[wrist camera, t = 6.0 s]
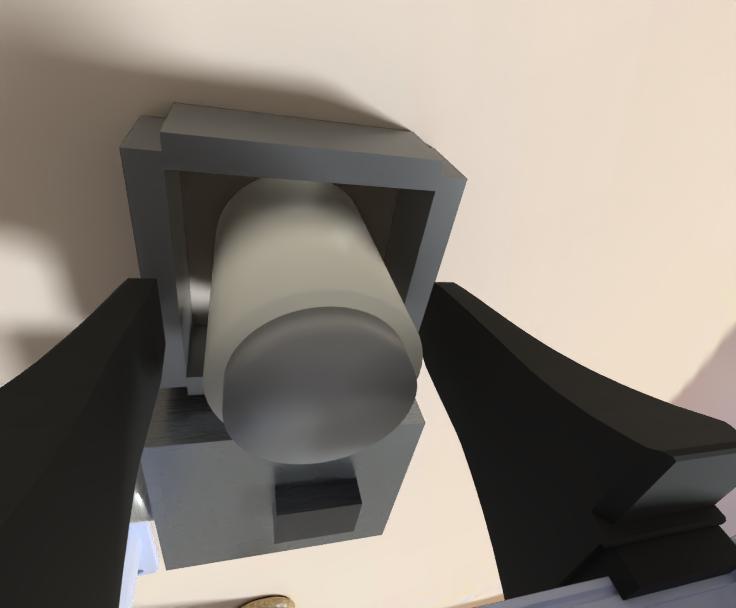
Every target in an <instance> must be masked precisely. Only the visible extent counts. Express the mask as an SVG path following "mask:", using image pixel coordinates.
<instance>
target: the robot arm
mask: <svg viewBox="0 0 736 608" xmlns="http://www.w3.org/2000/svg"><path fill="white" fill-rule="evenodd" d="M418 334H419V336H420V340H421V344H422V352H423V359H424V362H425V365H426V368H427V370H428V372H429V375H430V377H431V379H432V381H433V383H434V386H435V388H436V390H437V392H438V394H439V396H440V399H441V401H442V403H443V405H444V407H445V409H446V411H447V414H448V416H449V418H450V420H451V422H452V424H453V426H454V428H455V431H456V433H457V435H458V438H459V440H460V443H461V445H462V448H463V451H464V454H465V457H466V460H467V463H468V466H469V469H470V472H471V474H472V478H473V481H474V484H475V487H476V491H477V494H478V497H479V500H480V504H481V507H482V510H483V514H484V518H485V521H486V525H487V529H488V532H489V536H490V540H491V543H492V547H493V551H494V555H495V560H496V564H497V568H498V572H499V577H500V581H501V585H502V589H503V594H504V599H505V600H504V601H500V602H496V603H491V604H487V605H482V606H479V607H474V608H736V535H735V536H732V537H731V538H729V536H728V535H727V534H726V533H725V532H724V531H723V530H722V528H721V527H720V526H719V525H721V524H723V523H724V522H725V521H726V518H725V516H724V515H723V514H722V513H721V511H720V510H719V509H718V508H717V507H716V506H715V504H716V503H717V502H718V501H719V500H721V499H722V498H723V497H724V496H725V495H726V494H728V493H729V492H730V491H732V490H733V489H734V488H735V487H736V430H735V429H734V428H733V427H732V426H730V425H729V424H727V423H726V422H724V421H721V420H718V419H715V418H712V417H709V416H706V415H703V414H700V413H697V412H693V411H691V410H687V409H684V408H681V407H678V406H675V405H673V404H670V403H667V402H665V401H662V400H659V399H657V398H654V397H652V396H649V395H646V394H644V393H641V392H639V391H636V390H634V389H632V388H629V387H627V386H625V385H622V384H620V383H618V382H616V381H613V380H611V379H609V378H607V377H605V376H603V375H601V374H598V373H596V372H594V371H592V370H590V369H588V368H586V367H584V366H582V365H580V364H579V363H577V362H575V361H573V360H571V359H569V358H568V357H566V356H564V355H562V354H560V353H559V352H557V351H555V350H553V349H552V348H550V347H548V346H547V345H545V344H544V343H542V342H540V341H539V340H537V339H536V338H534V337H533V336H531V335H529V334H528V333H526V332H525V331H523V330H522V329H520V328H519V327H517V326H516V325H515V324H513V323H512V322H510V321H509V320H507V319H506V318H505V317H503V316H502V315H500V314H499V313H497V312H496V311H495V310H493V309H492V308H491V307H489V306H488V305H486V304H485V303H484V302H482V301H481V300H479V299H478V298H477V297H475V296H474V295H472V294H471V293H469V292H468V291H467V290H465V289H464V288H462V287H460V286H459V285H457V284H455V283H454V282H434V284H433V288H432V291H431V294H430V297H429V300H428V304H427V307H426V310H425V313H424V316H423V320H422V323H421V326H420V329H419V332H418ZM165 346H166V341H165V334H164V327H163V320H162V313H161V305H160V298H159V291H158V284H157V279H145V278H128V279H127V280H126V281H125V282H123V283H122V284H121V285H120V286H119V287H118V288H117V289H116V290H115V291H114V292H113V293H112V294H111V295H110V296H109V297H108V298H107V299H106V300H105V301H104V302H103V303H102V304H101V305H100V306H99V307H98V308H97V309H96V310H95V311H94V312H93V313H92V314H91V315H90V316H89V317H88V318H87V319H85V320H84V321H83V322H82V323H81V324H80V325H79V326H78V327H77V328H76V329H75V330H74V331H72V332H71V333H70V334H69V335H68V336H67V337H66V338H65V339H63V340H62V341H61V342H60V343H59V344H57V345H56V346H55V347H54V348H53V349H51V350H50V351H49V352H48V353H47V354H45V355H44V356H43V357H42V358H41V359H39V360H38V361H37V362H36V363H34V364H33V365H32V366H30V367H29V368H28V369H26V370H25V371H24V372H22V373H21V374H20V375H18V376H17V377H15V378H14V379H13V380H11V381H10V382H8V383H7V384H5V385H4V386H2V387H1V388H0V608H132V603H133V597H134V591H135V585H136V579H137V576H139V575H145V574H150V573H154V572H156V571H157V570H158V568H159V558H158V554H157V550H156V546H155V542H154V538H153V534H152V530H151V526H150V522H149V521H146V522H138V523H131V524H130V518H131V511H132V504H133V498H134V491H135V484H136V478H137V474H138V469H139V464H140V460H141V456H142V452H143V449H144V445H145V441H146V437H147V433H148V430H149V426H150V422H151V418H152V414H153V411H154V407H155V403H156V399H157V395H158V391H159V387H160V383H161V379H162V371H163V363H164V355H165Z"/></svg>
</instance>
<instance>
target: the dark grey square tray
mask: <svg viewBox="0 0 736 608" xmlns="http://www.w3.org/2000/svg"><path fill="white" fill-rule="evenodd" d="M119 148H120V154H121V160H122V166H123V172H124V178H125V184H126V190H127V196H128V202H129V208H130V215H131V221H132V227H133V233H134V239H135V245H136V251H137V257H138V263H139V269H140V275H141V278H145V279H157V284H158V291H159V298H160V305H161V313H162V320H163V327H164V334H165V341H166V346H165V355H164V363H163V371H162V379H161V383H160V387H159V388H171V387H187V389H188V395H202V394H204V388H203V370H204V359H205V348H206V337H207V326H208V325H193V319H192V308H191V296H190V284H189V273H188V261H187V250H186V238H185V227H184V215H183V204H182V192H181V180H180V171H188V172H201V173H213V174H226V175H238V176H251V177H264V178H276V179H289V180H301V181H314V182H327V183H339V184H352V185H364V186H377V187H389V188H400V192H399V196H398V201H397V205H396V210H395V214H394V219H393V223H392V227H391V232H390V236H389V241H388V245H387V250H386V254H385V259H384V264H385V266H386V268H387V270H388V272H389V275H390V277H391V279H392V281H393V283H394V285H395V287H396V289H397V291H398V293H399V295H400V297H401V299H402V301H403V303H404V305H405V307H406V309H407V311H408V314H409V316H410V318H411V320H412V322H413V324H414V326H415V328H416V330H417V332H419V329H420V326H421V323H422V320H423V316H424V313H425V310H426V307H427V304H428V300H429V297H430V294H431V291H432V288H433V284H434V282H435V280H436V277H437V274H438V271H439V268H440V264H441V261H442V258H443V255H444V252H445V248H446V245H447V242H448V239H449V236H450V233H451V229H452V226H453V223H454V220H455V217H456V213H457V210H458V207H459V204H460V201H461V198H462V194H463V191H464V188H465V185H466V182H467V178H466V177H465V176H464V175H463V174H462V173H461V172H459V171H458V170H457V169H456V168H455V167H454V166H453V165H452V164H451V163H450V162H449V161H448V160H446V159H445V158H444V157H443V156H442V155H441V154H440V153H439V152H438V151H437V150H436V149H435V148H430V147H429V146H428V145H427V144H425V143H424V142H423V141H422V140H421V139H420V138H419V137H418V136H417V135H416V134H415V133H414V132H412V131H403V130H395V129H387V128H379V127H370V126H362V125H354V124H346V123H337V122H329V121H321V120H313V119H304V118H296V117H288V116H280V115H271V114H263V113H255V112H246V111H238V110H230V109H222V108H213V107H205V106H197V105H189V104H180V103H173V105H172V107H171V109H170V111H169V114H168V116H167V118H159V117H150V116H140V117H139V119H138V120H137V122H136V123H135V125H134V126H133V128H132V129H131V131H130V132H129V134H128V135H127V137H126V138H125V140H124V141H123V143H122V144H121V146H120V147H119Z"/></svg>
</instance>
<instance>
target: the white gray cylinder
mask: <svg viewBox="0 0 736 608" xmlns="http://www.w3.org/2000/svg"><path fill="white" fill-rule="evenodd" d="M422 358H423V352H422V344H421V340H420V336H419V334H418V332H417V330H416V328H415V326H414V324H413V322H412V320H411V318H410V316H409V314H408V311H407V309H406V307H405V305H404V303H403V301H402V299H401V297H400V295H399V293H398V291H397V289H396V287H395V285H394V283H393V281H392V279H391V277H390V275H389V272H388V270H387V268H386V266H385V264H384V262H383V260H382V258H381V256H380V254H379V252H378V250H377V248H376V246H375V244H374V242H373V240H372V238H371V235H370V233H369V231H368V229H367V227H366V225H365V223H364V221H363V219H362V217H361V215H360V213H359V211H358V209H357V207H356V205H355V204H354V202H353V201H352V200H351V198H350V197H349V196H348V195H347V194H346V193H345V192H344V191H343V190H341V189H340V188H339V187H338V186H336V185H334V184H333V183H327V182H314V181H301V180H289V179H276V178H264V177H263V178H260V179H257V180H255V181H253V182H252V183H250V184H248V185H247V186H245V187H244V188H242V189H241V190H240V191H238V192H237V193H236V194H235V195H234V196H233V197H232V198H231V200H230V201H229V202H228V203H227V205H226V206H225V208H224V210H223V211H222V213H221V216H220V218H219V221H218V225H217V229H216V238H215V249H214V260H213V271H212V282H211V293H210V304H209V315H208V326H207V337H206V348H205V359H204V370H203V388H204V394H205V397H206V399H207V402H208V404H209V406H210V408H211V409H212V411H213V412H214V413H215V415H216V416H217V417H218V418H219V419H220V420H221V421H222V422H223V423H224V425H225V428H226V431H227V432H228V434H229V436H230V437H231V438H232V439H233V441H234V442H235V443H236V444H237V445H239V446H240V447H241V448H242V449H244V450H245V451H247V452H249V453H250V454H252V455H255V456H257V457H259V458H262V459H265V460H269V461H273V462H278V463H286V464H314V463H321V462H327V461H332V460H336V459H340V458H343V457H347V456H349V455H352V454H355V453H357V452H360V451H362V450H364V449H366V448H368V447H370V446H372V445H373V444H375V443H377V442H378V441H380V440H381V439H383V438H384V437H386V436H387V435H388V434H389V433H391V432H392V431H393V430H394V429H395V428H396V427H397V426H398V425H399V424H400V423H401V422H402V421H403V419H404V418H405V417H406V415H407V414H408V412H409V411H410V409H411V407H412V405H413V403H414V400H415V396H416V391H417V378H418V376H419V373H420V369H421V366H422Z"/></svg>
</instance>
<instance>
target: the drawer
mask: <svg viewBox="0 0 736 608" xmlns="http://www.w3.org/2000/svg"><path fill="white" fill-rule="evenodd" d="M424 425H425V421H424V418H423V416H422V413H421V411H420V409H419V406H418V404H417V401H416V399H415V400H414V403H413V405H412V407H411V409H410V411H409V412H408V414H407V415H406V417H405V418H404V419H403V421H402V422H401V423H400V424H399V425H398V426H397V427H396V428H395V429H394V430H393V431H392V432H391V433H389V434H388V435H387V436H386V437H384V438H383V439H381V440H380V441H378V442H377V443H375V444H373V445H372V446H370V447H368V448H366V449H364V450H362V451H360V452H357V453H355V454H352V455H349V456H347V457H343V458H340V459H336V460H332V461H327V462H321V463H314V464H286V463H278V462H273V461H269V460H265V459H262V458H259V457H257V456H255V455H252V454H250V453H249V452H247V451H245V450H244V449H242V448H241V447H240V446H239V445H237V444H236V443H235V442H234V441H233V439H232V438H231V437H230V436H229V434H228V432H227V431H226V428H225V425H224V423H223V422H222V421H221V420H220V419H219V418H218V417H217V416H216V415H215V413H214V412H213V411H212V409H211V408H210V406H209V404H208V402H207V399H206V397H205V394H202V395H188V389H187V387H171V388H159V391H158V395H157V399H156V403H155V407H154V411H153V414H152V418H151V422H150V426H149V430H148V433H147V437H146V441H145V445H144V449H143V452H142V456H141V460H140V464H139V469H138V474H137V478H136V484H135V491H134V498H133V504H132V511H131V518H130V524H131V523H138V522H146V521H153V520H155V525H156V529H157V533H158V537H159V542H160V546H161V550H162V554H163V559H164V563H165V567H166V570H172V569H178V568H184V567H190V566H196V565H202V564H208V563H214V562H220V561H226V560H232V559H238V558H244V557H250V556H256V555H262V554H268V553H274V552H280V551H287V550H293V549H299V548H305V547H311V546H317V545H323V544H329V543H335V542H341V541H347V540H353V539H359V538H365V537H371V536H377V535H382V533H383V531H384V528H385V526H386V523H387V520H388V518H389V515H390V513H391V510H392V507H393V505H394V502H395V500H396V497H397V495H398V492H399V489H400V487H401V484H402V482H403V479H404V476H405V474H406V471H407V469H408V466H409V464H410V461H411V458H412V456H413V453H414V451H415V448H416V445H417V443H418V440H419V438H420V435H421V433H422V430H423V427H424Z"/></svg>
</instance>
